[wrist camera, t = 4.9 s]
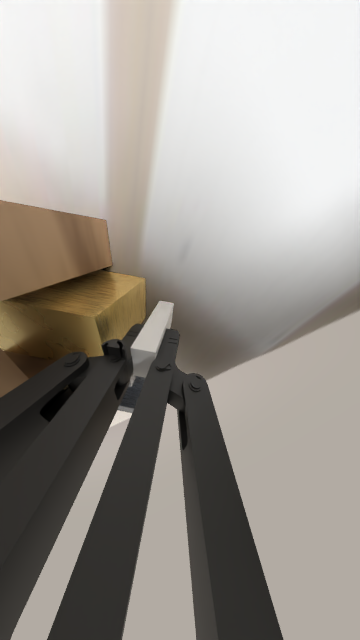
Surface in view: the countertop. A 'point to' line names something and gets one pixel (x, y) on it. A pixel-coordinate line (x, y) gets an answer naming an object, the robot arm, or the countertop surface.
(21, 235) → the brown wooden block
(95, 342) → the bar
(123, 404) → the cradle
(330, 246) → the countertop surface
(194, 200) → the countertop surface
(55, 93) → the countertop surface
